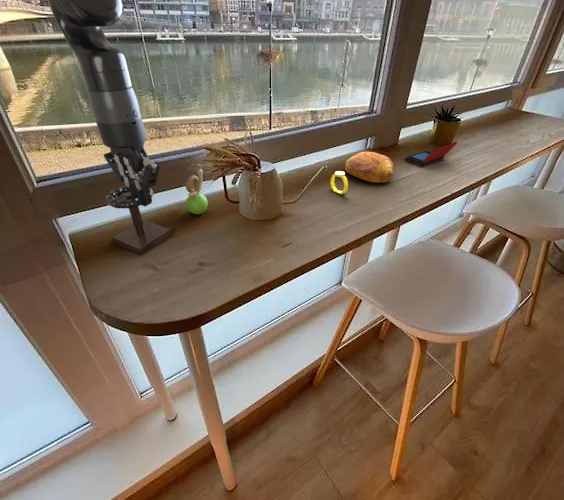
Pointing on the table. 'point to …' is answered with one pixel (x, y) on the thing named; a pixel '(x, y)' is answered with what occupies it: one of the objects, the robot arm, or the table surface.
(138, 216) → the stand
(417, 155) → the handheld console
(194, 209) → the snail figurine
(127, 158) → the robot arm
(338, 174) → the gold gemstone ring
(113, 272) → the table surface
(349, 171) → the bread loaf
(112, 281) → the table surface
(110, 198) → the hang ring
